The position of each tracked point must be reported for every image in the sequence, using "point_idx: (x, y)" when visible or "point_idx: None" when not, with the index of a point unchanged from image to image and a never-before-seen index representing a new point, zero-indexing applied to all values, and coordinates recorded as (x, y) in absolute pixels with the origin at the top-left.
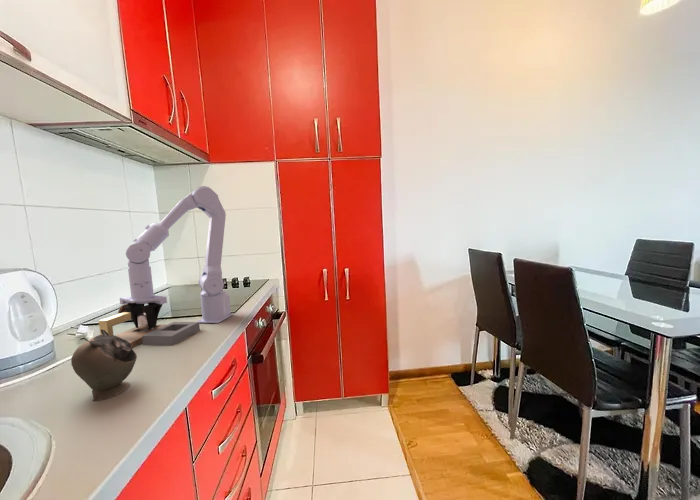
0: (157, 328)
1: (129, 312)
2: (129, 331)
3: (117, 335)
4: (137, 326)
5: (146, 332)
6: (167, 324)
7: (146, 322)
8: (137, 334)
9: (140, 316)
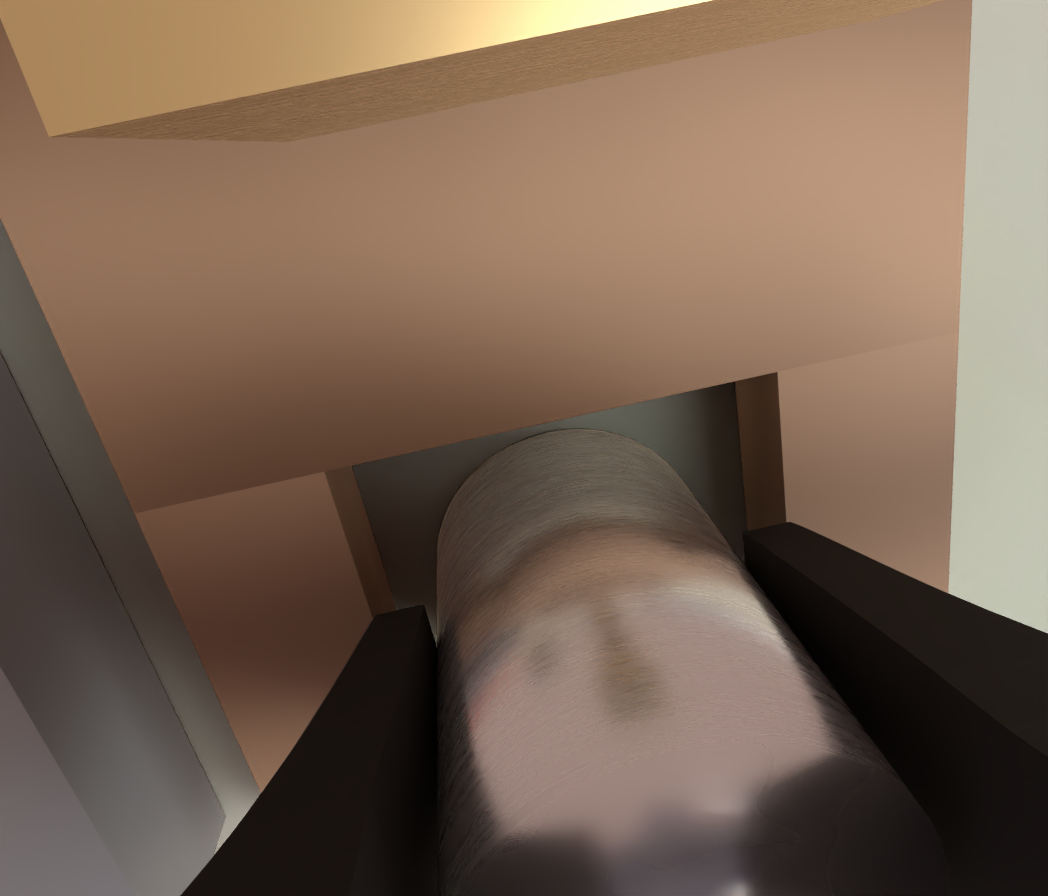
0: (323, 685)
1: (147, 8)
2: (827, 366)
3: (892, 45)
4: (757, 545)
5: (291, 436)
6: (93, 841)
7: (455, 674)
8: (375, 261)
9: (617, 757)
